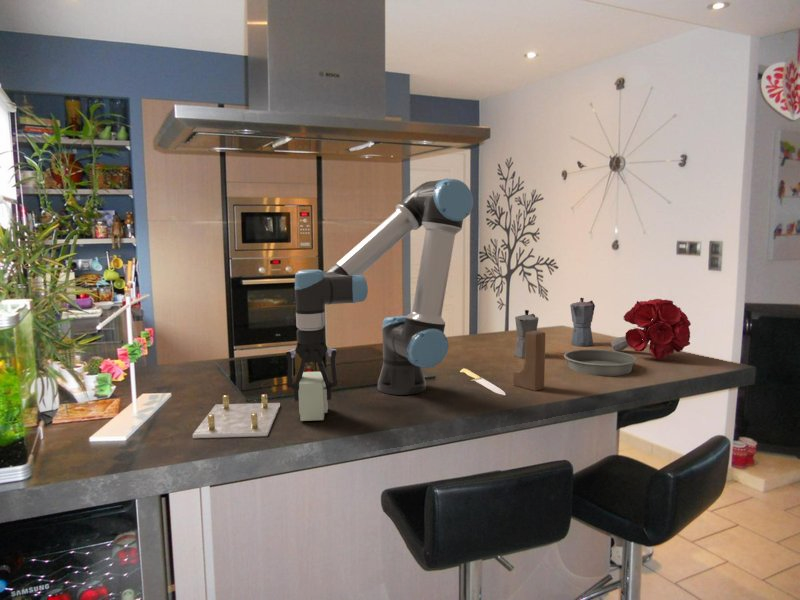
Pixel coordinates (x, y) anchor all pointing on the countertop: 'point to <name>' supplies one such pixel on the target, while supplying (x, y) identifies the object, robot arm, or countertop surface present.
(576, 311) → the moka pot
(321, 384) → the pale green rectangular block
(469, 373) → the knife
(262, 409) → the chassis plate
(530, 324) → the coffeepot
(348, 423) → the countertop surface
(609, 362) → the cake pan
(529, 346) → the wooden block
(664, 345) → the bouquet
